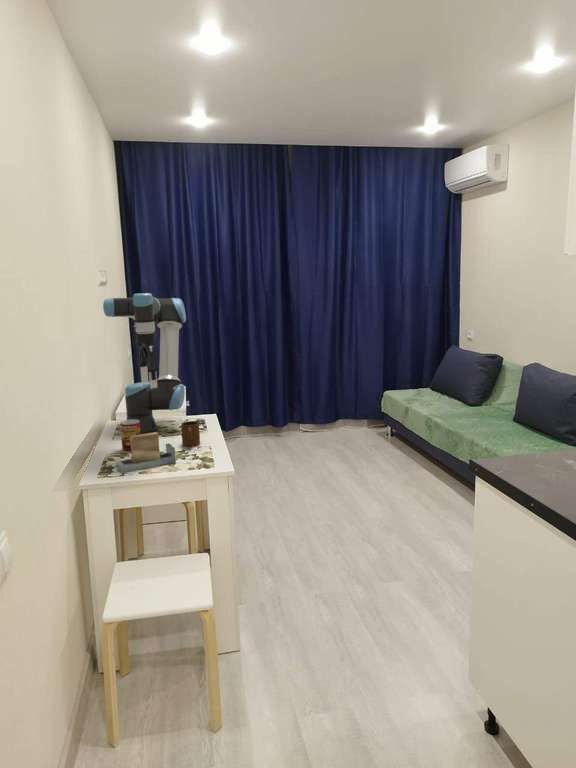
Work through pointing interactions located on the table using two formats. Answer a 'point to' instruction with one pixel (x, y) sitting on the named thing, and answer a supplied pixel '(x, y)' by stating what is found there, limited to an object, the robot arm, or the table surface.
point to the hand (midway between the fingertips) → (149, 385)
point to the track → (163, 460)
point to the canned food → (129, 432)
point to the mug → (190, 433)
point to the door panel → (145, 447)
